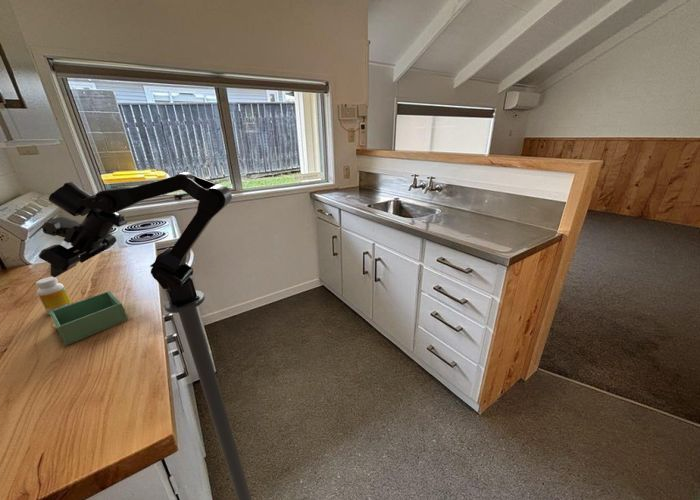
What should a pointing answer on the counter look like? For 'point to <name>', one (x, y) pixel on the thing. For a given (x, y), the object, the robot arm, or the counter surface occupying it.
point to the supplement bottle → (52, 294)
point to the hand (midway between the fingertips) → (67, 268)
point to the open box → (88, 317)
